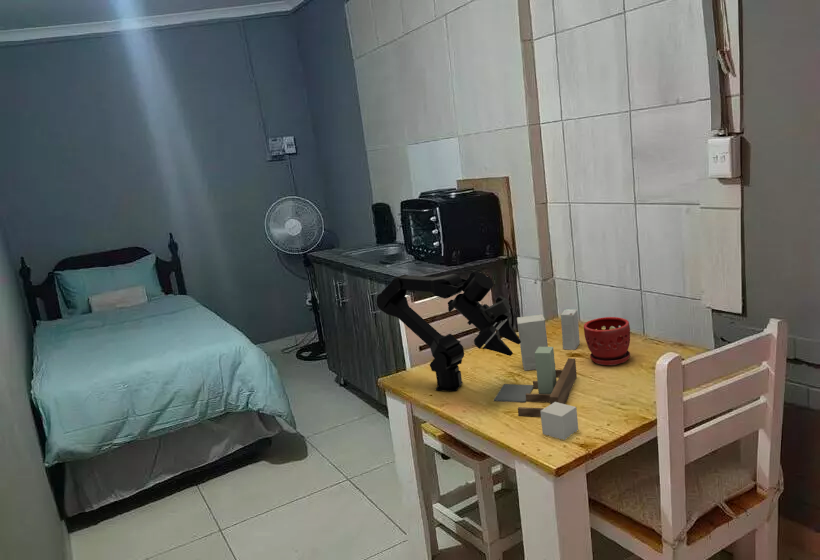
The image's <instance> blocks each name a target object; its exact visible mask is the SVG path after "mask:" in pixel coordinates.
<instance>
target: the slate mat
mask: <svg viewBox="0 0 820 560" xmlns="http://www.w3.org/2000/svg"><path fill="white" fill-rule="evenodd" d="M533 389H534V388H533V384H516V383H515V384H513V383H512V384H511V383H510V384H509V383H508V384H507V383H504V384H503V385H502V386H501V388H500V390H499V391H498V392H497V394H496V395H495V397H494V398H493V401H494V402H505V403H506V402H507V403H526V402H527V401H526V393H531V394H532V391H533Z"/></svg>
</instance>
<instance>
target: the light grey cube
mask: <svg viewBox="0 0 820 560" xmlns="http://www.w3.org/2000/svg"><path fill="white" fill-rule="evenodd" d="M543 408H544V409H543V410H541V411H540V412H541V417H540V422H541V430H542V435H545V436H548V435H549V436H548V437H553V438H556V439H558V438H559V439H558V440H562V439H563V440H562V441H565V440H566V439H568V438H570V437H571V436H572V435H574V434H575V433H577V432H578V431H579V423H578V412H577V406H574V405H570V404H567V403H566V404H562V403H558V402H554V403H552V404H551V405H550V404H549V405H547V406H546V407H543ZM577 430H578V431H577ZM574 432H575V433H574ZM573 433H574V434H573ZM571 434H572V435H571ZM570 435H571V436H570ZM567 437H568V438H567Z"/></svg>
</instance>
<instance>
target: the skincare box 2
mask: <svg viewBox="0 0 820 560" xmlns="http://www.w3.org/2000/svg"><path fill="white" fill-rule="evenodd" d="M560 322H561V323H560V325H561V338H562V339H561V341H562V349H563V350H568V351H569V350H570V351H571V350H573V351H574V350H577V348H578V347H579V345H580V343H581V341H580V329H579V327H580V326H579V313H578V309H577V308H574V309H568V308H567V309H564V310H563V312H562V313H561V315H560Z"/></svg>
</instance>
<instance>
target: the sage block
mask: <svg viewBox="0 0 820 560" xmlns="http://www.w3.org/2000/svg"><path fill="white" fill-rule="evenodd" d="M535 361H536V369H535V371H536V381H538V389H537V390H538V394H551V393H552V391H553V389H554V387H555V385H556V383H557V381H558V380H557V377H556V370H557V369H556V363H555V351H554V346H548V347H538V349H537V350H536V352H535Z"/></svg>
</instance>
